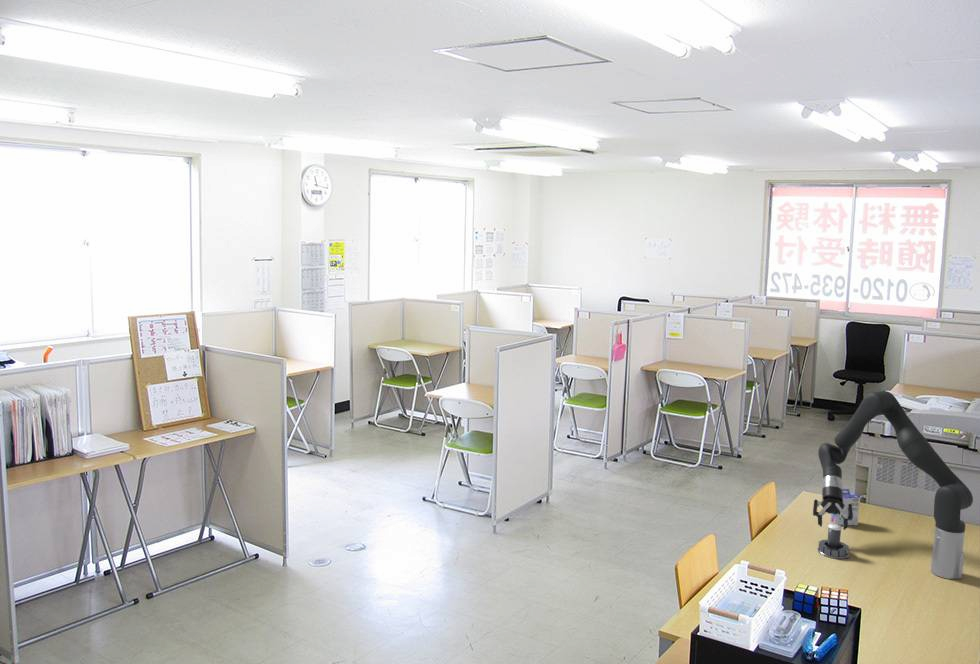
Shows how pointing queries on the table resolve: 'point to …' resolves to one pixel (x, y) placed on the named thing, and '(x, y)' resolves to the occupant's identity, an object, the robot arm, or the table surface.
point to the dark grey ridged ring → (833, 550)
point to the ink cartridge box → (847, 500)
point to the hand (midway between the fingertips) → (832, 527)
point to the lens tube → (834, 536)
